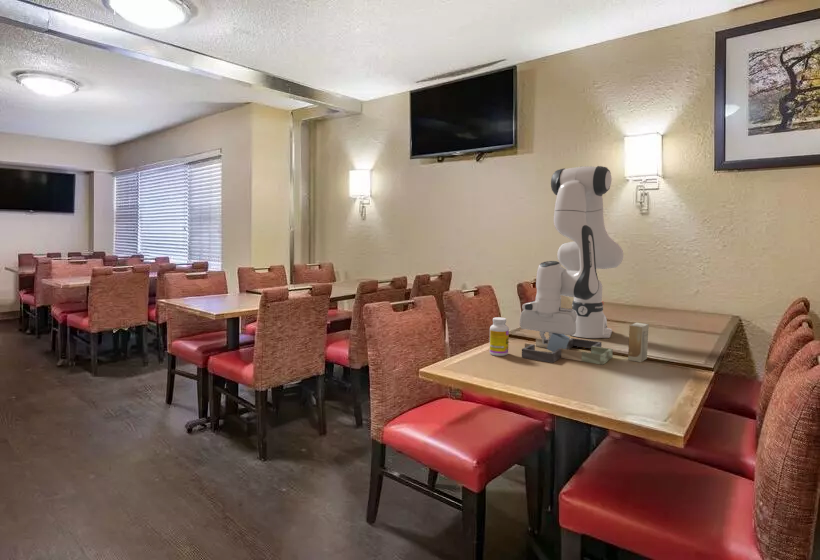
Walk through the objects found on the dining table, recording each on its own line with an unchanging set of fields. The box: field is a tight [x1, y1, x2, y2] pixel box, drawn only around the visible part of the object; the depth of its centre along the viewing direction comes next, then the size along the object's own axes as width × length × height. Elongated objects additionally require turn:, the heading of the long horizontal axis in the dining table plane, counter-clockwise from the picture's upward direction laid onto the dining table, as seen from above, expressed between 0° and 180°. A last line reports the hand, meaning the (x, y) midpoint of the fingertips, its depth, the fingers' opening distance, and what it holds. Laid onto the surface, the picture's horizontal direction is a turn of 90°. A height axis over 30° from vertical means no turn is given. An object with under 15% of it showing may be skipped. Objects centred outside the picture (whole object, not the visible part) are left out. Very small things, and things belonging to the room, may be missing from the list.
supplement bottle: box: [488, 316, 510, 357], centre depth 171 cm, size 7×7×13 cm
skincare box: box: [627, 322, 650, 363], centre depth 163 cm, size 6×4×12 cm
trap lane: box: [521, 337, 614, 366], centre depth 170 cm, size 27×28×3 cm
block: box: [546, 333, 571, 353], centre depth 172 cm, size 5×5×6 cm
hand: (546, 344), depth 175 cm, fingers closed
